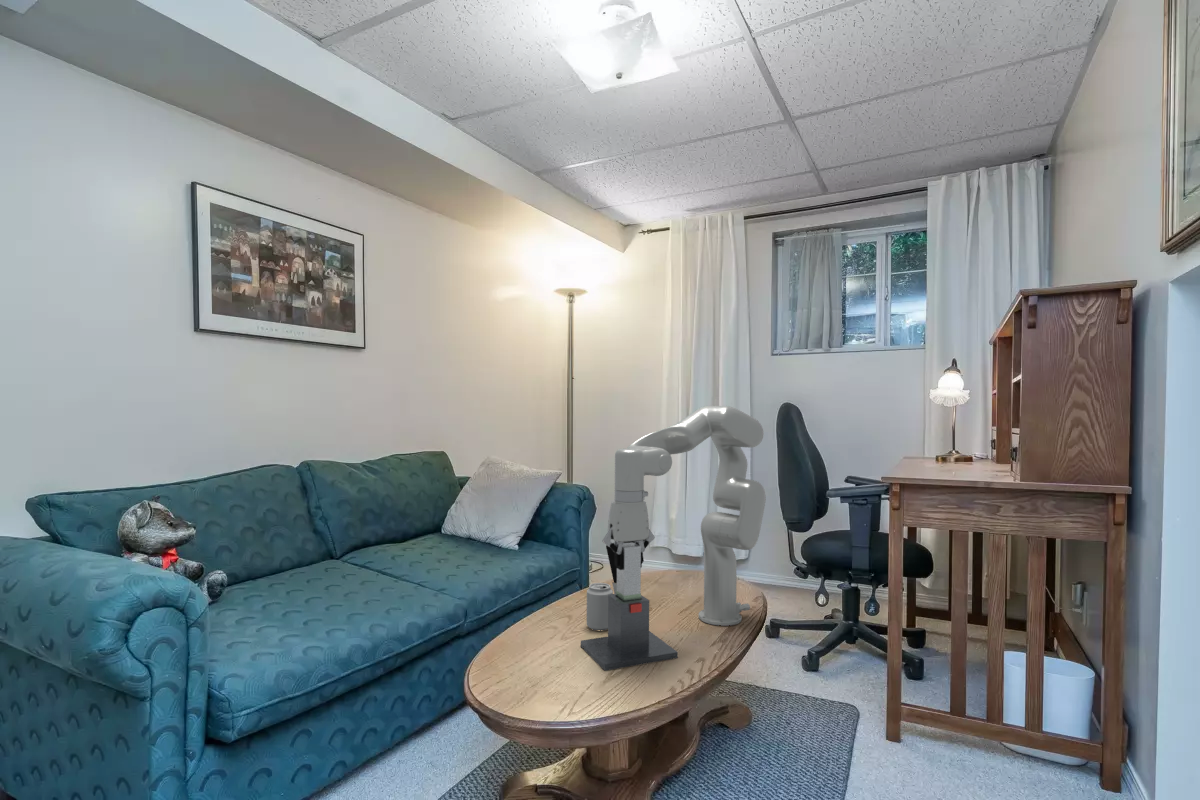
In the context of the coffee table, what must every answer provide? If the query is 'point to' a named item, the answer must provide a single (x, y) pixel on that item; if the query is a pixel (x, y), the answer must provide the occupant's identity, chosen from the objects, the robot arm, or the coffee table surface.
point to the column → (630, 573)
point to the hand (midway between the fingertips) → (628, 566)
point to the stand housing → (627, 637)
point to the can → (598, 606)
